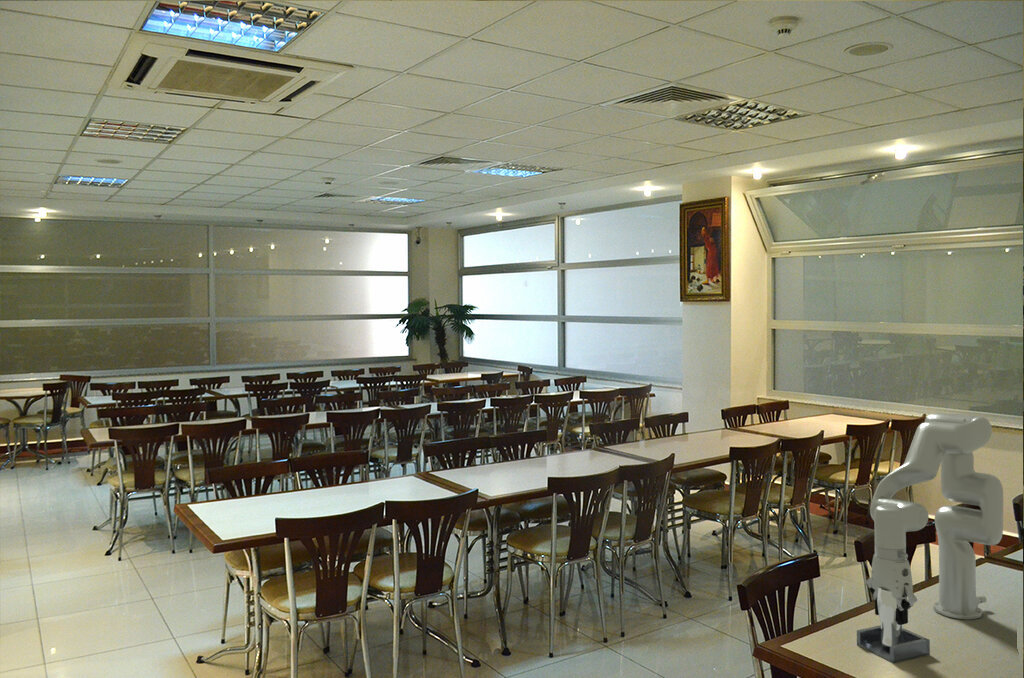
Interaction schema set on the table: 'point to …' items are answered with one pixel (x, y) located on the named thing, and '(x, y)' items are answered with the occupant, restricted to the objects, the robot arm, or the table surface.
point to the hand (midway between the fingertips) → (891, 618)
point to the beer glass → (889, 618)
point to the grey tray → (896, 653)
